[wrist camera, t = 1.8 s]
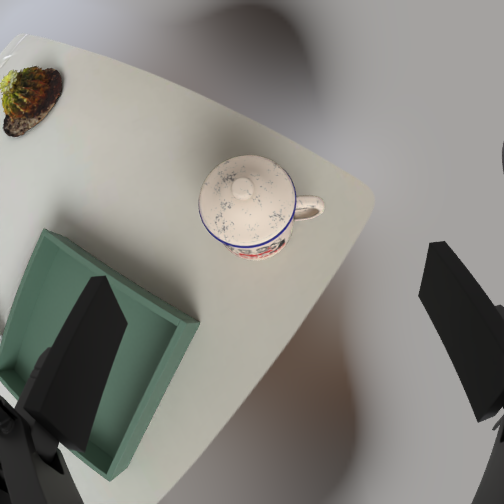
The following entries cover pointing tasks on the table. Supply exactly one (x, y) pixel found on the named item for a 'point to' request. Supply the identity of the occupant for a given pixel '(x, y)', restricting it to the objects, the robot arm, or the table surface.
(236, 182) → the teacup with lid
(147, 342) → the tray
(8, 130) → the cactus
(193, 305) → the table surface
